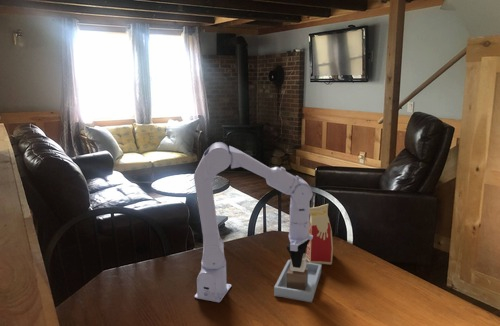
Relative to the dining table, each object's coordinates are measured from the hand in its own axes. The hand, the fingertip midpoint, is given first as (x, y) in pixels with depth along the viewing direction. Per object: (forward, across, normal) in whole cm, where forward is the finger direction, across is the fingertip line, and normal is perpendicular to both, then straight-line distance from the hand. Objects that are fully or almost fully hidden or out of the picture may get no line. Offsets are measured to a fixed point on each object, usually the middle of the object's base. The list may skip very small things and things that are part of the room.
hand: (298, 263), depth 115 cm
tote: (+8, +2, 0) cm, 8 cm away
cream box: (+2, 0, 0) cm, 2 cm away
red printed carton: (+8, +21, -3) cm, 23 cm away
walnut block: (+7, 0, 0) cm, 7 cm away
